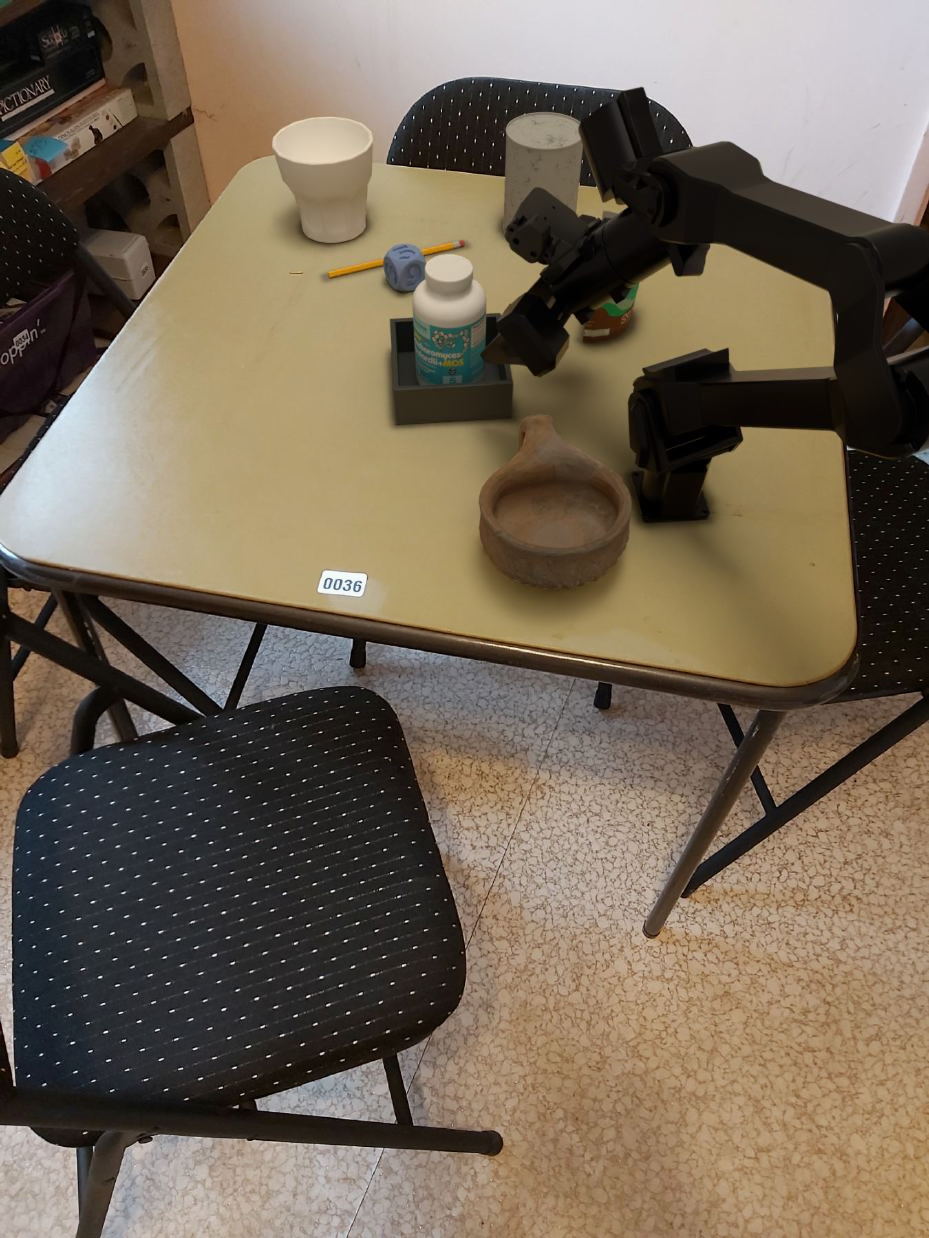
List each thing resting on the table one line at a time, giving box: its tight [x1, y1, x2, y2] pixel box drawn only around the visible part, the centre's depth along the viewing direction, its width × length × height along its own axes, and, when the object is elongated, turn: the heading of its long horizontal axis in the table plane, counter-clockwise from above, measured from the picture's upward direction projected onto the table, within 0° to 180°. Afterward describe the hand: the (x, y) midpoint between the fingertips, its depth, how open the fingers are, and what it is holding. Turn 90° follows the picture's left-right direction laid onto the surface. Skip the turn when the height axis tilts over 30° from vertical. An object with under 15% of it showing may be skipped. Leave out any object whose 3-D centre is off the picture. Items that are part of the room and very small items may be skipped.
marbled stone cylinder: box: [502, 111, 584, 234], centre depth 106 cm, size 10×10×12 cm
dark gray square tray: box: [389, 312, 514, 426], centre depth 90 cm, size 12×12×4 cm
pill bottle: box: [411, 253, 487, 385], centre depth 86 cm, size 8×7×14 cm
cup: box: [271, 116, 374, 244], centre depth 107 cm, size 12×12×11 cm
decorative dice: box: [382, 243, 427, 293], centre depth 102 cm, size 4×4×4 cm
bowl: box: [478, 413, 633, 591], centre depth 75 cm, size 18×14×10 cm
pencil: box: [327, 239, 465, 279], centre depth 106 cm, size 1×18×1 cm, turn 113°
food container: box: [582, 209, 640, 343], centre depth 95 cm, size 12×6×10 cm, turn 168°
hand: (502, 332), depth 83 cm, fingers open, 9 cm apart
